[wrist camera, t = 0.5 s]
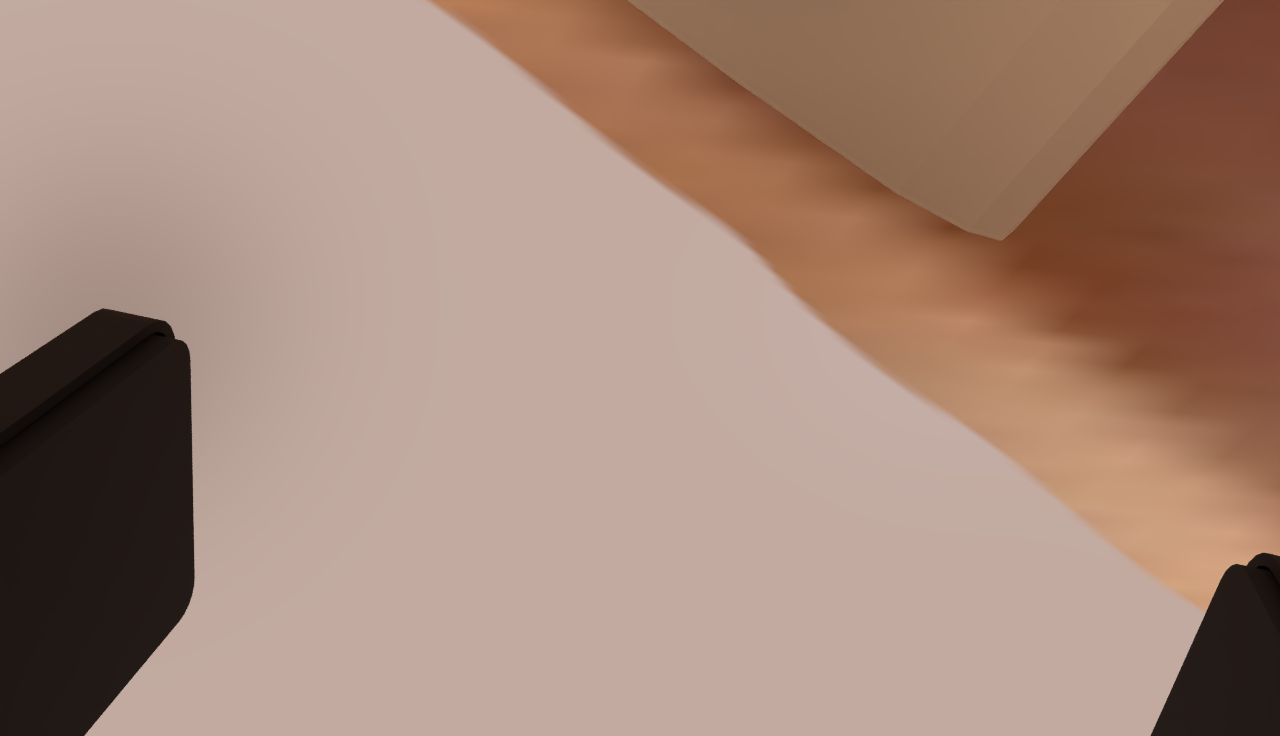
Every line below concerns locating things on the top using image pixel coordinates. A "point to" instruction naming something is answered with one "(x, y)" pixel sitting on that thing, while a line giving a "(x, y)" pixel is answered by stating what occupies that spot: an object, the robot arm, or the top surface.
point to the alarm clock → (944, 84)
